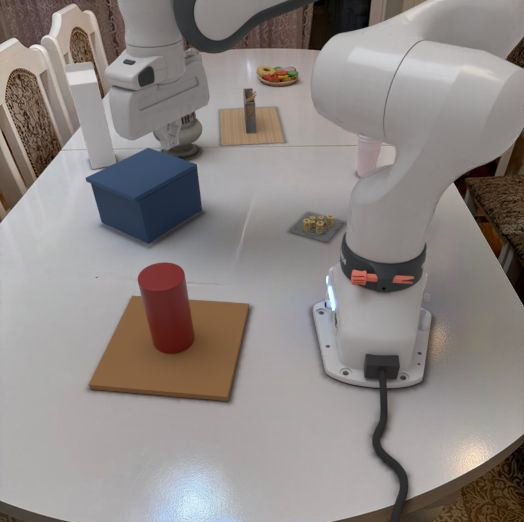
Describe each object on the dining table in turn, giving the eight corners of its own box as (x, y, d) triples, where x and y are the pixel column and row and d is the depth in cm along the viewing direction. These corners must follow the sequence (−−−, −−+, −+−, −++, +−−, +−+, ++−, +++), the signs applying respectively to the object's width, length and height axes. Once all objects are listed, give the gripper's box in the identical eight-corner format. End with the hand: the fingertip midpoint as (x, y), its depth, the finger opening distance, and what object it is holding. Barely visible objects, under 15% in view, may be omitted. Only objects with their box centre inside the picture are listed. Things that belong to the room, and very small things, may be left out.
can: (189, 355, 74) (177, 292, 65) (147, 351, 74) (130, 288, 66) (199, 326, 78) (189, 263, 70) (159, 323, 79) (145, 260, 70)
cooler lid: (135, 202, 88) (134, 198, 88) (86, 181, 94) (85, 177, 94) (197, 167, 98) (196, 163, 97) (148, 151, 103) (148, 147, 103)
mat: (228, 401, 69) (227, 396, 68) (90, 389, 71) (88, 384, 70) (249, 307, 83) (248, 303, 82) (133, 300, 85) (132, 295, 84)
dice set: (334, 224, 100) (335, 215, 99) (323, 236, 97) (324, 227, 96) (312, 217, 102) (312, 209, 101) (300, 229, 99) (300, 221, 98)
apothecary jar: (160, 166, 120) (146, 86, 108) (154, 146, 129) (140, 69, 116) (208, 159, 123) (201, 79, 110) (200, 140, 131) (191, 64, 118)
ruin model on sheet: (284, 142, 129) (284, 102, 122) (221, 145, 128) (218, 105, 121) (275, 107, 146) (275, 70, 139) (220, 109, 146) (217, 73, 139)
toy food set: (253, 76, 167) (253, 65, 164) (290, 72, 169) (291, 61, 167) (265, 89, 158) (265, 78, 155) (304, 84, 160) (305, 73, 158)
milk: (89, 159, 124) (62, 61, 108) (113, 155, 125) (90, 57, 110) (92, 169, 120) (64, 68, 104) (117, 165, 121) (93, 65, 106)
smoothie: (378, 181, 113) (388, 118, 103) (350, 179, 114) (357, 116, 104) (379, 169, 117) (389, 106, 107) (352, 167, 118) (359, 105, 108)
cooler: (148, 247, 96) (139, 200, 89) (102, 225, 102) (89, 180, 95) (202, 212, 105) (197, 168, 98) (156, 194, 110) (148, 151, 103)
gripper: (185, 42, 86) (195, 124, 96) (95, 74, 75) (116, 163, 84) (213, 47, 84) (220, 131, 93) (124, 81, 72) (143, 173, 82)
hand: (170, 147), depth 89 cm, fingers closed
